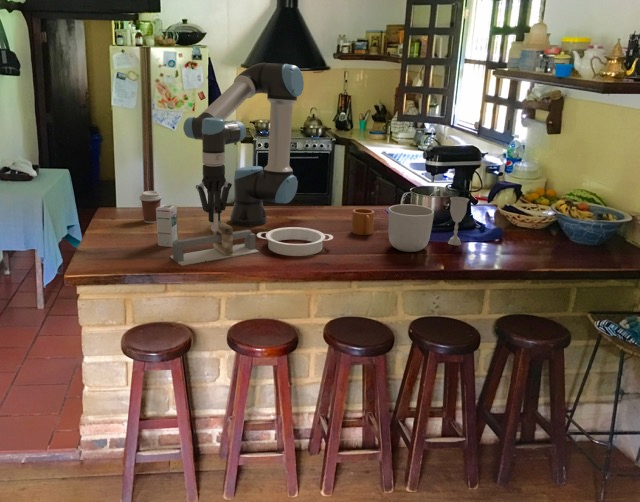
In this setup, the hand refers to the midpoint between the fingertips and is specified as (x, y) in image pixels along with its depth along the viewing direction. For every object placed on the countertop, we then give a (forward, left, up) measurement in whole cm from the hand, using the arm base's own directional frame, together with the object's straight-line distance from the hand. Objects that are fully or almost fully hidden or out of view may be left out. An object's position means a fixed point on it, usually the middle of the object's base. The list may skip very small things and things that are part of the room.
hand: (214, 230), depth 227 cm
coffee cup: (+4, -51, -9) cm, 52 cm away
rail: (0, 0, -9) cm, 9 cm away
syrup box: (+10, -19, -9) cm, 23 cm away
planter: (-67, +28, -9) cm, 73 cm away
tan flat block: (-3, 0, -8) cm, 8 cm away
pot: (-30, +6, -10) cm, 32 cm away
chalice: (-88, +32, -9) cm, 94 cm away
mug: (-64, +4, -9) cm, 65 cm away
